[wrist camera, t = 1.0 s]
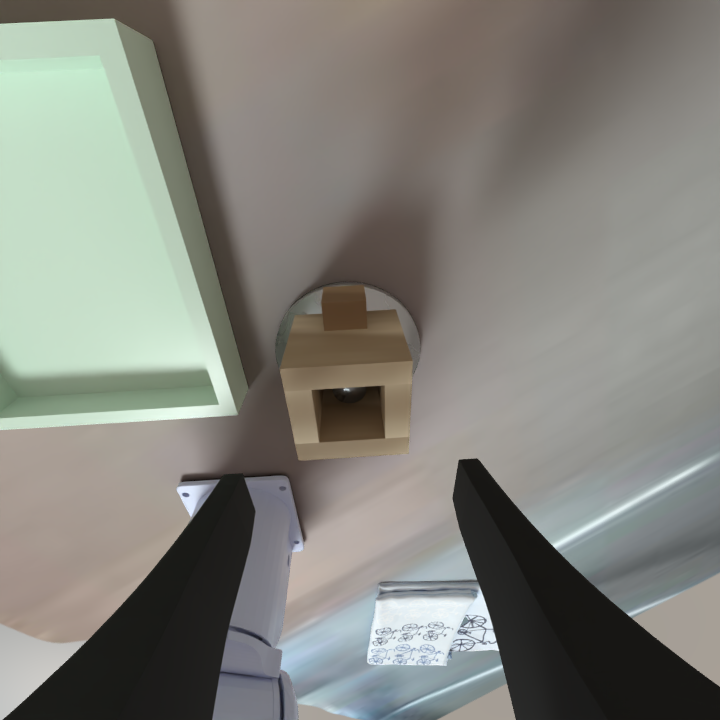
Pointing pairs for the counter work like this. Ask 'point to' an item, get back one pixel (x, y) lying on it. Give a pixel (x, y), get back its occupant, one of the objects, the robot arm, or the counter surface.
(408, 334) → the silver knobbed lid
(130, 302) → the tray
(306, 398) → the tan wooden hollow block
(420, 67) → the counter surface
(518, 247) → the counter surface
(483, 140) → the counter surface
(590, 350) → the counter surface
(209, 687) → the robot arm
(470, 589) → the bicycle print towel
